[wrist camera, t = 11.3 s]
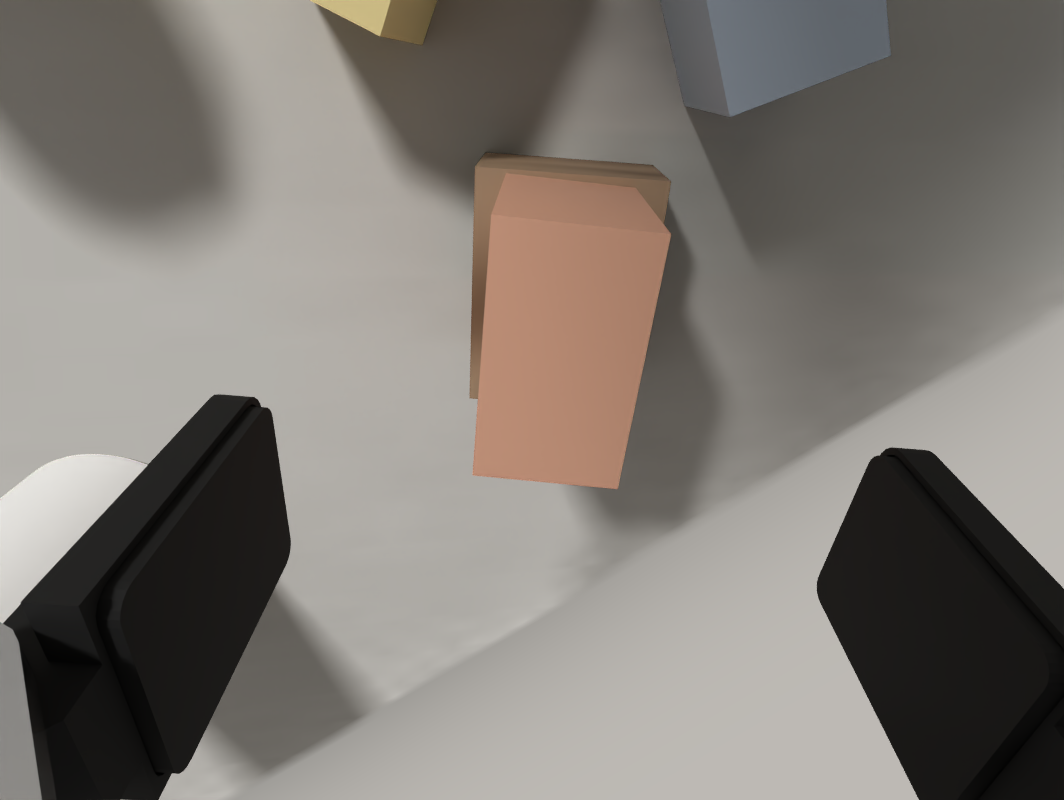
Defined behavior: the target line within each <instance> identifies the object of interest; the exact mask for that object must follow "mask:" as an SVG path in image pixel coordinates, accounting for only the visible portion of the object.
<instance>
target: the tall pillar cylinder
mask: <svg viewBox="0 0 1064 800" xmlns="http://www.w3.org/2000/svg"><path fill="white" fill-rule="evenodd" d="M146 467H147V464H144V463H142V462H138V461H135V460H132V459H128V458H123V457H118V456H112V455H103V454H81V455H73V456H68V457H63V458H60V459H57V460H54V461H52V462H49V463H47V464H45V465H43V466H42V467H40V468H39V469H37V470H36V471H34V472H33V473H32V474H30V475H29V476H28V477H27V478H25V479H24V480H23V481H21V482H20V483H19V484H18V485H16V486H15V487H14V488H12V489H11V490H10V491H9V492H7V493H6V494H5V495H4V496H2V497H1V498H0V622H1V623H2V624H3V623H4V622H5V620H6V619H7V618H8V617H9V616H10V615H11V614H12V613H13V612H14V611H15V610H16V609H17V608H18V606H19V605H20V604H21V603H20V602H21V601H22V600H23V599H24V598H25V597H26V596H27V595H28V593H29V592H30V591H31V590H32V589H33V588H34V587H35V586H36V585H37V584H38V583H39V582H40V581H41V579H42V578H43V577H44V576H45V575H46V574H47V573H48V572H49V571H50V570H51V569H52V568H53V567H54V565H55V564H56V563H57V562H58V561H59V560H60V559H61V558H62V557H63V556H64V555H65V554H66V553H67V551H68V550H69V549H70V548H71V547H72V546H73V545H74V544H75V543H76V542H77V541H78V540H79V539H80V538H81V536H82V535H83V534H84V533H85V532H86V531H87V530H88V529H89V528H90V527H91V526H92V525H93V524H94V522H95V521H96V520H97V519H98V518H99V517H100V516H101V515H102V514H103V513H104V512H105V511H106V510H107V508H108V507H109V506H110V505H111V504H112V503H113V502H114V501H115V500H116V499H117V498H118V497H119V496H120V495H121V493H122V492H123V491H124V490H125V489H126V488H127V487H128V486H129V485H130V484H131V483H132V482H133V481H134V479H135V478H136V477H137V476H138V475H139V474H140V473H141V472H142V471H143V470H144V469H145V468H146Z"/></svg>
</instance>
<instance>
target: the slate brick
mask: <svg viewBox="0 0 1064 800" xmlns="http://www.w3.org/2000/svg"><path fill="white" fill-rule="evenodd" d="M660 3H661V7H662V11H663V16H664V20H665V24H666V29H667V33H668V37H669V41H670V46H671V50H672V54H673V59H674V63H675V67H676V72H677V76H678V80H679V85H680V89H681V93H682V98H683V102H684V106H687V107H691V108H695V109H699V110H703V111H707V112H711V113H715V114H719V115H723V116H727V117H732V116H735V115H737V114H740V113H742V112H745V111H748V110H750V109H753V108H755V107H758V106H761V105H763V104H766V103H769V102H771V101H774V100H776V99H779V98H782V97H784V96H787V95H789V94H792V93H795V92H797V91H800V90H803V89H805V88H808V87H810V86H813V85H816V84H818V83H821V82H823V81H826V80H829V79H831V78H834V77H836V76H839V75H842V74H844V73H847V72H850V71H852V70H855V69H857V68H860V67H863V66H865V65H868V64H870V63H873V62H876V61H878V60H881V59H884V58H886V57H889V56H891V50H890V39H889V28H888V16H887V5H886V0H660Z"/></svg>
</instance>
